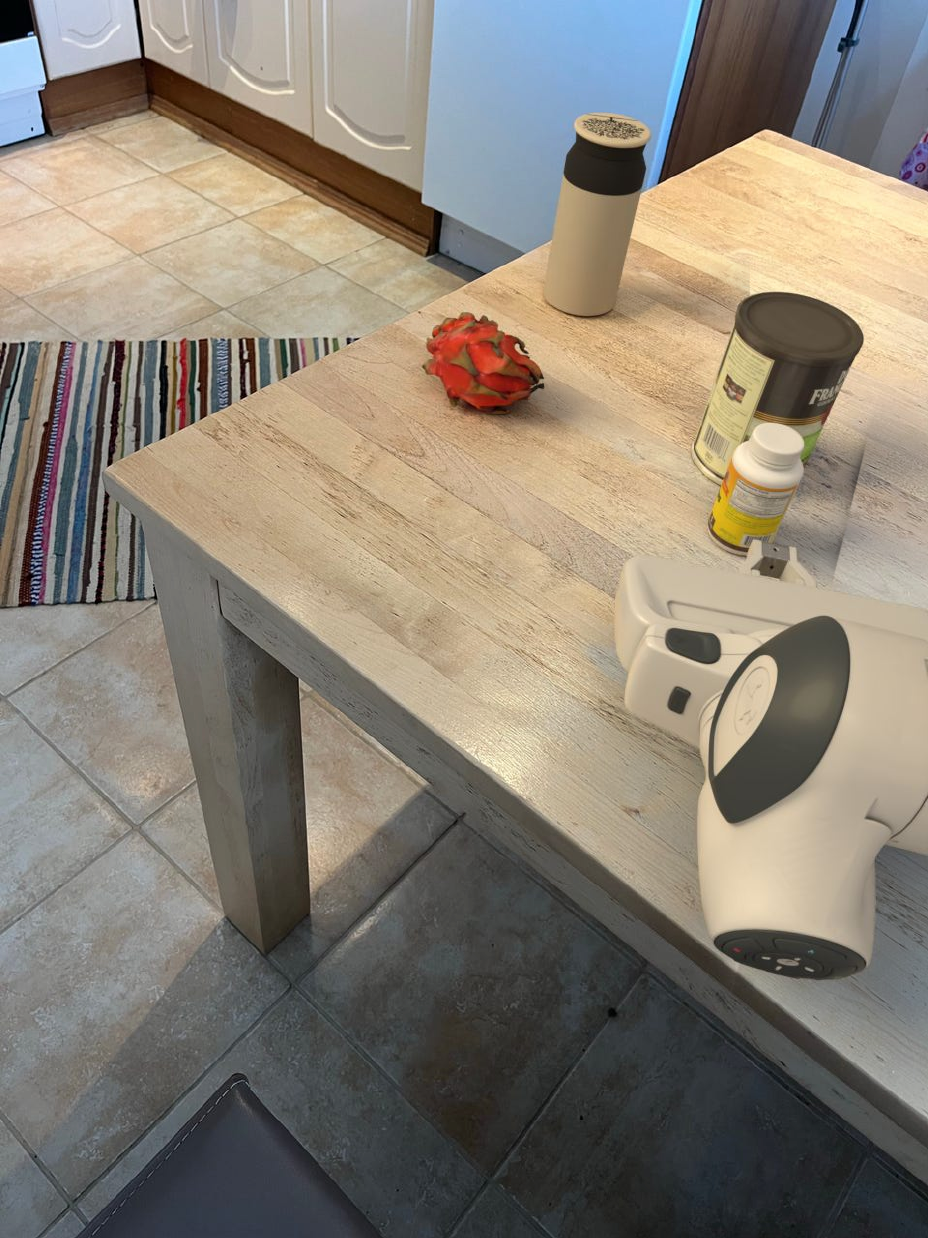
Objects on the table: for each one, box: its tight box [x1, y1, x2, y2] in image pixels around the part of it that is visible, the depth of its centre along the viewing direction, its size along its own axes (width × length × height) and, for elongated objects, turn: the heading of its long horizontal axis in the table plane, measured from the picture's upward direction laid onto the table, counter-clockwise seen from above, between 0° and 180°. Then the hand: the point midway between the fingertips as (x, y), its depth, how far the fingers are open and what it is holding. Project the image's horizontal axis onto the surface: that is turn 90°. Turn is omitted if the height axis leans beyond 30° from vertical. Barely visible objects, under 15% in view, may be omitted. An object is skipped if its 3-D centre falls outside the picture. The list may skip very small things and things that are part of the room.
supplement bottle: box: [706, 423, 805, 557], centre depth 76 cm, size 6×6×10 cm
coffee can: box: [690, 291, 865, 487], centre depth 82 cm, size 10×10×14 cm
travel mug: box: [542, 112, 652, 317], centre depth 97 cm, size 8×8×18 cm
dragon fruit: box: [421, 311, 549, 415], centre depth 87 cm, size 8×8×12 cm
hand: (771, 549), depth 65 cm, fingers closed
